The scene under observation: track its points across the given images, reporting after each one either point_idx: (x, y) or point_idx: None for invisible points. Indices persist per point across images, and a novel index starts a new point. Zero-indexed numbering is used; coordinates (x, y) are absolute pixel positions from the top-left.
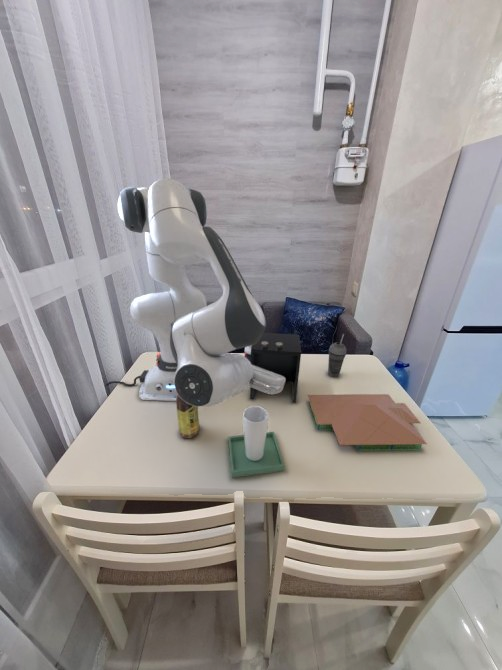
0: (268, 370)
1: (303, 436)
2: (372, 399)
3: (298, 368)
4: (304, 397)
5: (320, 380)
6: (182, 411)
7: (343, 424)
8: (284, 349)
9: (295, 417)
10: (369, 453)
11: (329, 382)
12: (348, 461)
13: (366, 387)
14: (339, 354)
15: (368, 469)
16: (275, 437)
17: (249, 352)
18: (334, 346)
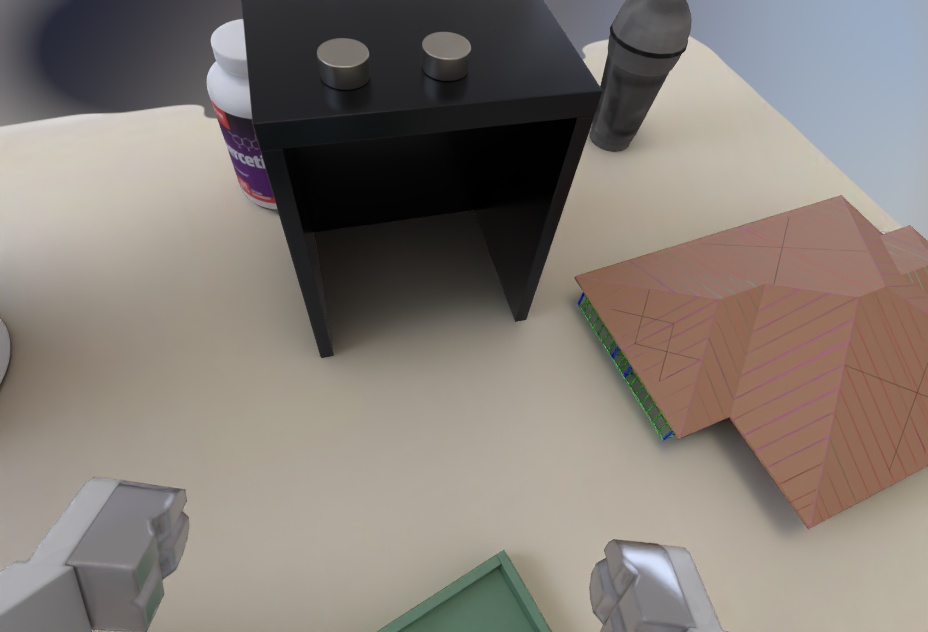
0: (628, 547)
1: (622, 501)
2: (835, 246)
3: (565, 186)
4: (548, 278)
5: (575, 175)
6: None
7: (788, 414)
8: (491, 84)
9: (552, 401)
10: (876, 493)
11: (610, 177)
12: (831, 570)
13: (736, 171)
14: (669, 50)
15: (909, 581)
16: (525, 588)
17: (242, 108)
18: (649, 10)
